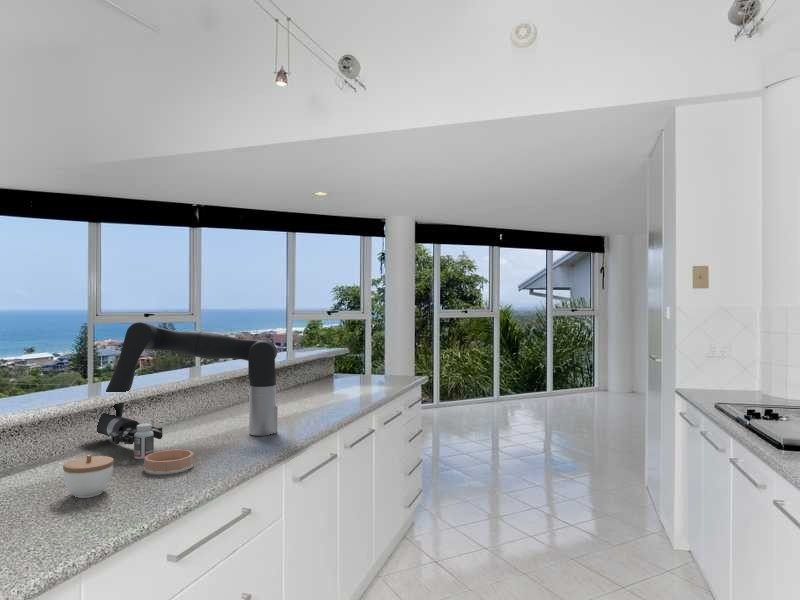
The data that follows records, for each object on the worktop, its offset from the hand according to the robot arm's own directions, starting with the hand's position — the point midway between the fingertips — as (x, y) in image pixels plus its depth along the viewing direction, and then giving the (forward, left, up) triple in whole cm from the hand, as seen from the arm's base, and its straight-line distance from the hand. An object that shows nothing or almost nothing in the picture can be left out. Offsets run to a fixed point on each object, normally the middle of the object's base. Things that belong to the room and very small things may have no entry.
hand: (146, 438), depth 162 cm
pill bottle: (+1, -2, -6) cm, 6 cm away
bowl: (-4, +14, -6) cm, 16 cm away
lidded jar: (+16, +26, -6) cm, 31 cm away
